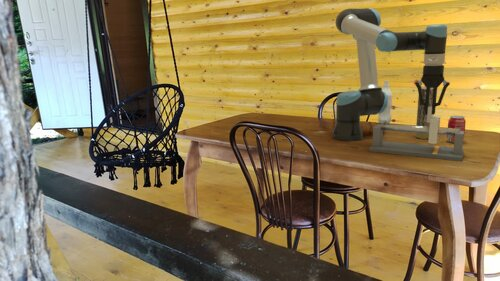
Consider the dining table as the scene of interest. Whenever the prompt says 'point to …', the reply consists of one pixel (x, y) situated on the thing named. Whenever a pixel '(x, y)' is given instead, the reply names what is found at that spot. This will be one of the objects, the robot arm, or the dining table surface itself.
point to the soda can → (456, 126)
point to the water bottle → (386, 114)
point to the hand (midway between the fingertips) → (429, 122)
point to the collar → (434, 129)
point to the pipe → (417, 129)
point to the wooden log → (423, 114)
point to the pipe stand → (418, 147)
